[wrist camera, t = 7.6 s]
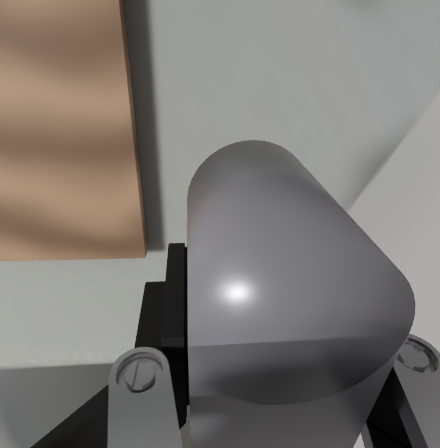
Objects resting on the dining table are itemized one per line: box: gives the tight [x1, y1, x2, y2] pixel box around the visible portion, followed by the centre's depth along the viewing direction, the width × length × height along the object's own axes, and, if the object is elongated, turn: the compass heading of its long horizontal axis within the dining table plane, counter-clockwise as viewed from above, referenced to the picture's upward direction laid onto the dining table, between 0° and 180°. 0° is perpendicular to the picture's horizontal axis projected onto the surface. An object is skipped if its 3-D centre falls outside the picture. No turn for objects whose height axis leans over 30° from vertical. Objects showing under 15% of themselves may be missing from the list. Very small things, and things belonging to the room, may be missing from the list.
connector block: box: [187, 140, 415, 448], centre depth 10 cm, size 12×4×6 cm, turn 178°
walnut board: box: [0, 0, 148, 261], centre depth 22 cm, size 20×12×2 cm, turn 178°
